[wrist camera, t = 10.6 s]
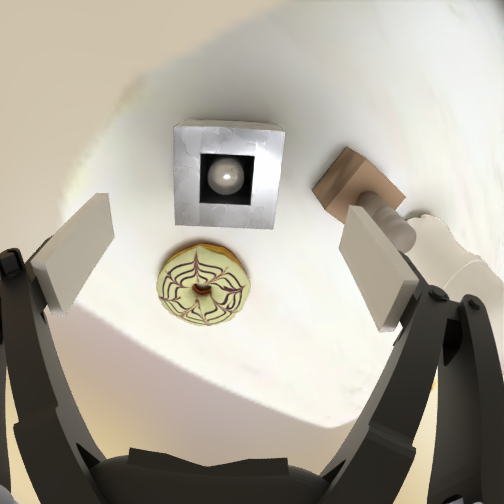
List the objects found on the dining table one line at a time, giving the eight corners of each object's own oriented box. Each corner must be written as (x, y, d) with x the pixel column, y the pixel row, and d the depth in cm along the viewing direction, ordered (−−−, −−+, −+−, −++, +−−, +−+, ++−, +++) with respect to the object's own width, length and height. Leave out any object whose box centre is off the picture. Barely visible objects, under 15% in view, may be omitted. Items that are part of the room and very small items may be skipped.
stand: (346, 146, 27) (406, 186, 17) (384, 180, 29) (446, 231, 19) (311, 190, 29) (351, 251, 19) (350, 219, 31) (397, 285, 21)
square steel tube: (184, 201, 27) (175, 225, 23) (185, 119, 23) (174, 126, 19) (267, 205, 28) (273, 229, 24) (276, 124, 24) (285, 132, 20)
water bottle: (399, 206, 31) (539, 374, 10) (442, 209, 31) (572, 348, 10) (386, 257, 35) (485, 428, 13) (427, 256, 35) (528, 401, 14)
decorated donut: (266, 271, 35) (269, 291, 32) (213, 320, 39) (212, 341, 36) (194, 222, 31) (189, 239, 28) (147, 283, 35) (140, 303, 32)
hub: (218, 117, 25) (213, 125, 20) (271, 150, 27) (280, 167, 22) (186, 167, 28) (173, 189, 22) (236, 197, 30) (237, 225, 24)
